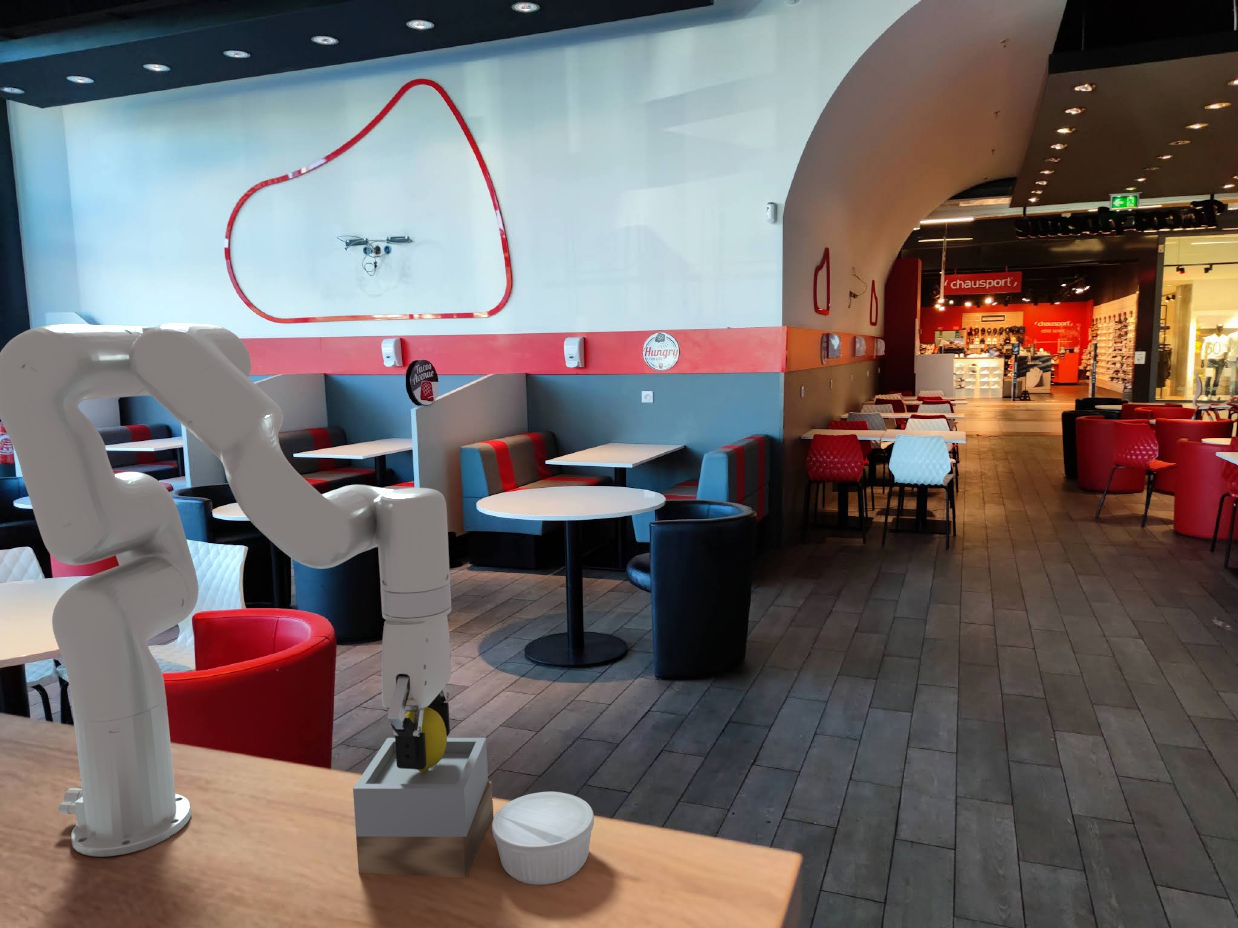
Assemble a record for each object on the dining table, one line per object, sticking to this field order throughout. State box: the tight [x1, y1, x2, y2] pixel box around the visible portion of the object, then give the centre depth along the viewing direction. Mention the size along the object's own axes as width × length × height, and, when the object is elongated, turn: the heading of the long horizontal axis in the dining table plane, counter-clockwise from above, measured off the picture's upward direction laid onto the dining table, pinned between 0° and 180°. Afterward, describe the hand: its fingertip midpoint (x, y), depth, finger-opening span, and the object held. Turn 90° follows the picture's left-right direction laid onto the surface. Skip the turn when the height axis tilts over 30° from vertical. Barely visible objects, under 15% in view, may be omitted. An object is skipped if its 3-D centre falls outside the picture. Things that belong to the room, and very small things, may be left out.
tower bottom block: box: [355, 780, 494, 879], centre depth 99 cm, size 12×12×5 cm
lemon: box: [405, 707, 448, 773], centre depth 98 cm, size 6×6×8 cm
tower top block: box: [352, 737, 489, 837], centre depth 98 cm, size 12×12×6 cm
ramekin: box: [491, 791, 595, 886], centre depth 95 cm, size 11×11×5 cm
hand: (424, 749), depth 98 cm, fingers open, 7 cm apart
